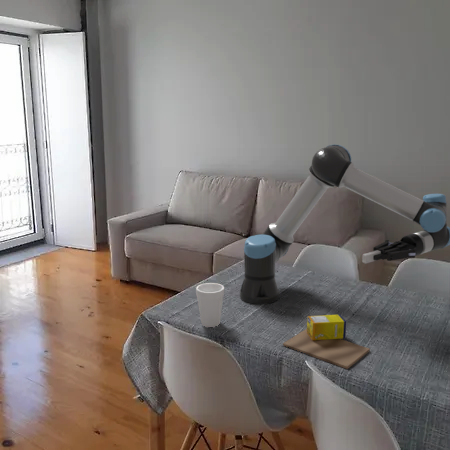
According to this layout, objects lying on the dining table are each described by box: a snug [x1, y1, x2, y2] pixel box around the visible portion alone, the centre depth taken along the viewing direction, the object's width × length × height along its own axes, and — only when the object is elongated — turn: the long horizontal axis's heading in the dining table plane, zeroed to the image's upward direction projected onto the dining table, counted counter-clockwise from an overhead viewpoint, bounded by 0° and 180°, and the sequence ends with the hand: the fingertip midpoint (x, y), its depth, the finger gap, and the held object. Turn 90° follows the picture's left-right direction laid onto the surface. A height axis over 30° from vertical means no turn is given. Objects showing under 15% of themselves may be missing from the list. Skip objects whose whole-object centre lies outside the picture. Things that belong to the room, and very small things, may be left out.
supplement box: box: [306, 314, 347, 341], centre depth 161 cm, size 6×6×11 cm
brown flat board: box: [282, 328, 371, 370], centre depth 155 cm, size 22×14×1 cm, turn 49°
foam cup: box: [195, 282, 225, 328], centre depth 172 cm, size 10×9×13 cm
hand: (364, 258), depth 164 cm, fingers closed
